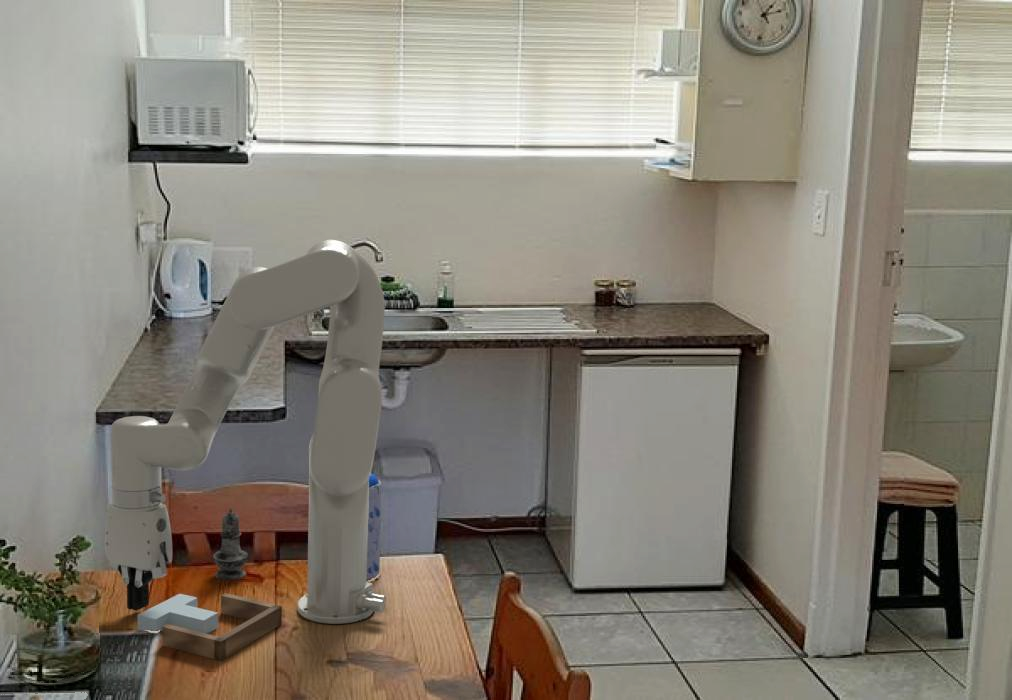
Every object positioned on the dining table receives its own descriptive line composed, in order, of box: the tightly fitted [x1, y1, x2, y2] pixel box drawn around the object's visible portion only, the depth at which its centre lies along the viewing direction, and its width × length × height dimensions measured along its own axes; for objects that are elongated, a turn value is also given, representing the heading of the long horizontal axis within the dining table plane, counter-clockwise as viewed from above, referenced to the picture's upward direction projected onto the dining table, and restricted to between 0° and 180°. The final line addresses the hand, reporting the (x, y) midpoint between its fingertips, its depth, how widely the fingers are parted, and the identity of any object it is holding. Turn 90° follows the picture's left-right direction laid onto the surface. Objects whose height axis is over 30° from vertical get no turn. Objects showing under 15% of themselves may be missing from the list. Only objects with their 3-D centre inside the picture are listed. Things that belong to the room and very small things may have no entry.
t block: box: [136, 593, 219, 634], centre depth 192 cm, size 10×10×2 cm
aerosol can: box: [367, 472, 383, 581], centre depth 214 cm, size 8×8×20 cm
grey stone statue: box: [212, 508, 249, 581], centre depth 213 cm, size 6×6×12 cm
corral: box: [161, 592, 283, 662], centre depth 189 cm, size 11×15×3 cm
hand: (138, 606), depth 196 cm, fingers closed
